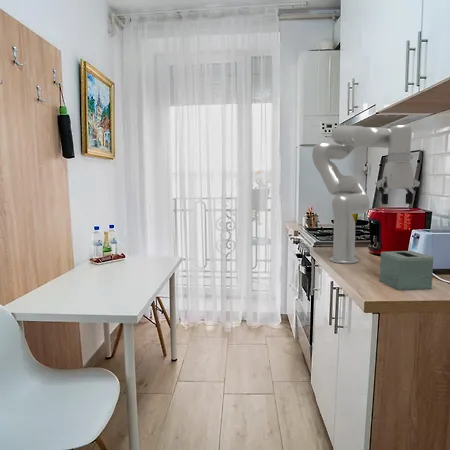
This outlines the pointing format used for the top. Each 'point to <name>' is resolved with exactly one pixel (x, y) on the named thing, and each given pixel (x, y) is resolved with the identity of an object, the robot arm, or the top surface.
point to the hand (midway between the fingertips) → (396, 204)
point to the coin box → (406, 270)
